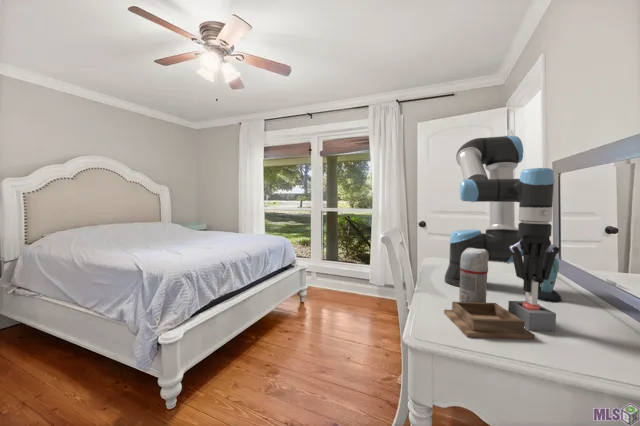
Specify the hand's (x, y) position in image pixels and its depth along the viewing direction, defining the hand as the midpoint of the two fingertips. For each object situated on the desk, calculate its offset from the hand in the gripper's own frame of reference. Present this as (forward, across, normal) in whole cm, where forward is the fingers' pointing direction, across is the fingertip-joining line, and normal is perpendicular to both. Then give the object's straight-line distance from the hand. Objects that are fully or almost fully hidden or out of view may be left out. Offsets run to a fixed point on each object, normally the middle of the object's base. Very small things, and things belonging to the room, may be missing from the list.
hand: (531, 302), depth 79 cm
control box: (+6, 0, 0) cm, 6 cm away
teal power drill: (+6, +21, +24) cm, 33 cm away
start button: (+3, 0, 0) cm, 3 cm away
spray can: (+6, -11, +11) cm, 17 cm away
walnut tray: (+6, -14, -2) cm, 15 cm away
